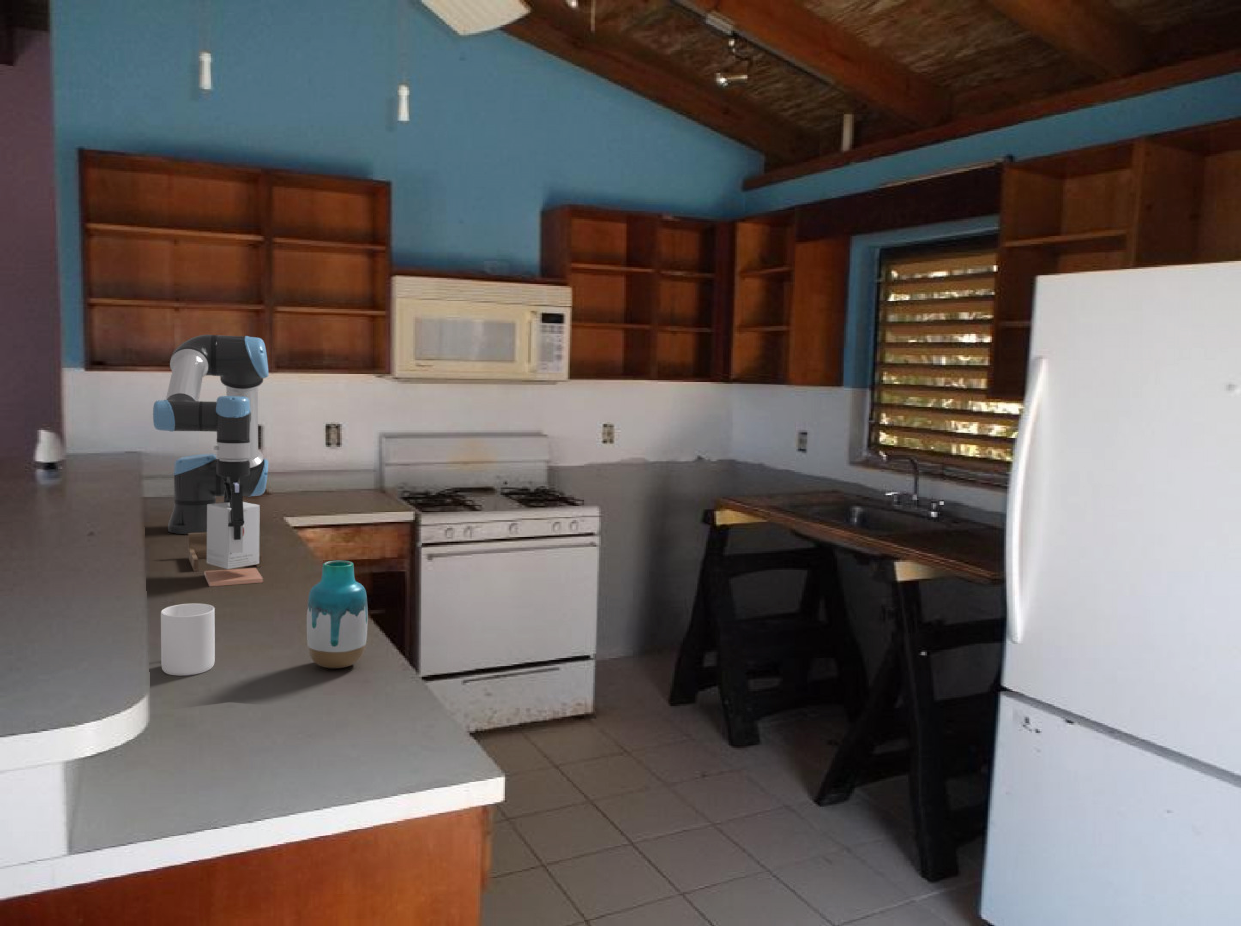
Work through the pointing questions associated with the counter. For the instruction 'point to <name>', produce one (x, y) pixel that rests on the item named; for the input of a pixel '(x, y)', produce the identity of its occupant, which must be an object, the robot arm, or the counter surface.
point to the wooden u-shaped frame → (200, 548)
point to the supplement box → (221, 536)
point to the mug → (187, 639)
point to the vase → (337, 617)
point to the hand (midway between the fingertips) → (233, 547)
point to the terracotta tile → (233, 577)
